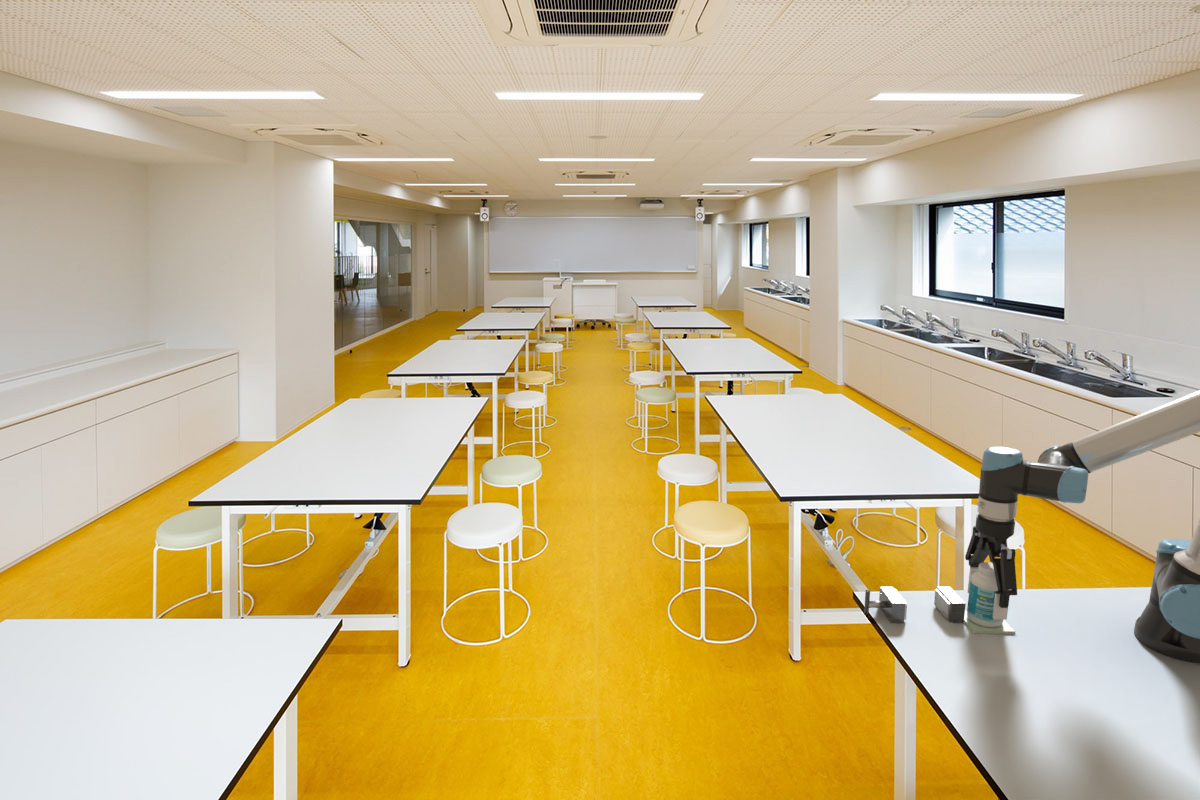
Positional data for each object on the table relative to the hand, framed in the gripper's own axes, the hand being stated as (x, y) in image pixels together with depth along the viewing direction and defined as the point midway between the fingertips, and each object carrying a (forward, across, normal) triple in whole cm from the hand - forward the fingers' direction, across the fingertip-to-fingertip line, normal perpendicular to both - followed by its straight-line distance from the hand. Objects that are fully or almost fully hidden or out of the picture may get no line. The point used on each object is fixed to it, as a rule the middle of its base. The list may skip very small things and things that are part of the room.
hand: (986, 605), depth 157 cm
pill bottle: (+4, 0, 0) cm, 4 cm away
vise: (+5, -4, -15) cm, 17 cm away
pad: (+4, 0, 0) cm, 4 cm away
